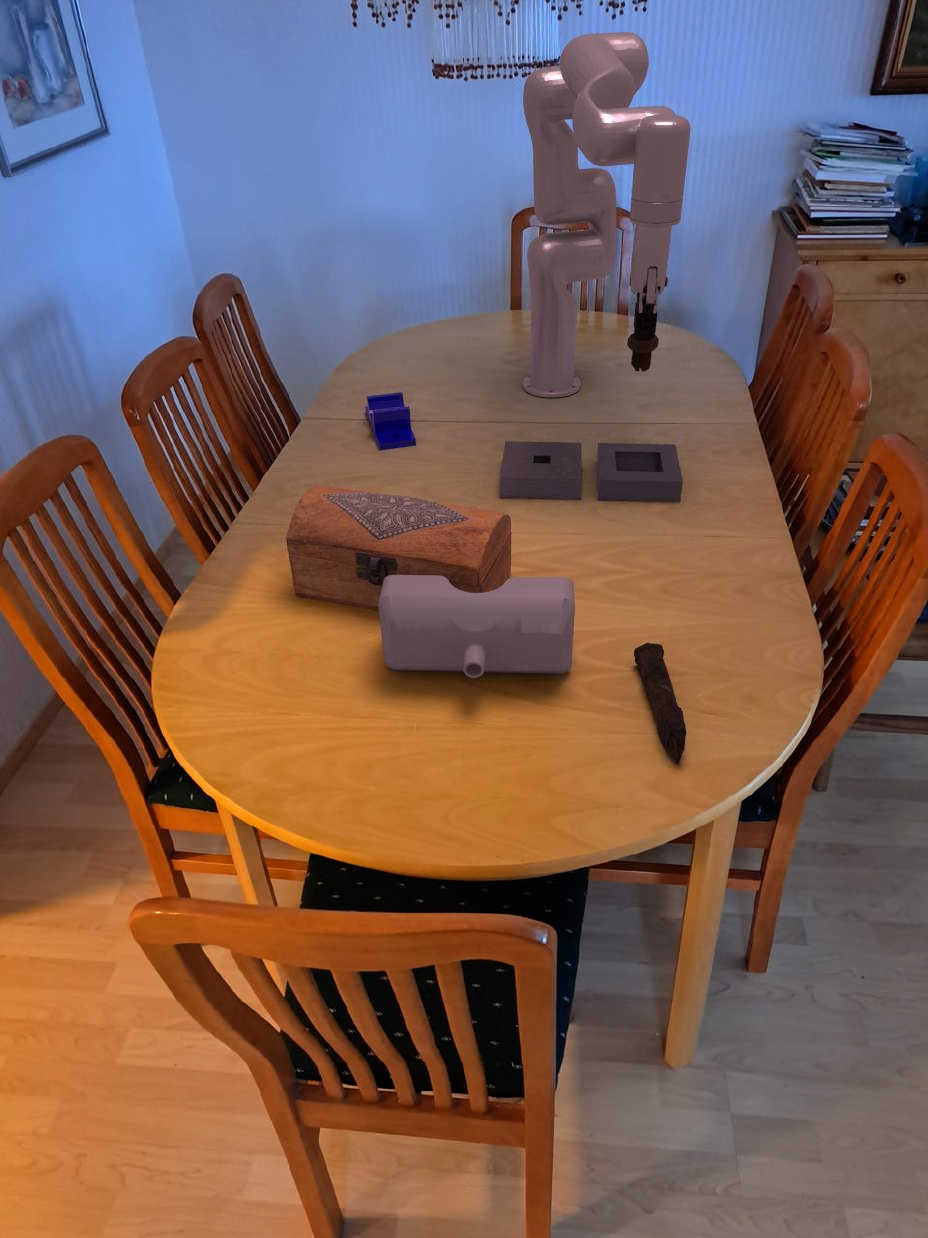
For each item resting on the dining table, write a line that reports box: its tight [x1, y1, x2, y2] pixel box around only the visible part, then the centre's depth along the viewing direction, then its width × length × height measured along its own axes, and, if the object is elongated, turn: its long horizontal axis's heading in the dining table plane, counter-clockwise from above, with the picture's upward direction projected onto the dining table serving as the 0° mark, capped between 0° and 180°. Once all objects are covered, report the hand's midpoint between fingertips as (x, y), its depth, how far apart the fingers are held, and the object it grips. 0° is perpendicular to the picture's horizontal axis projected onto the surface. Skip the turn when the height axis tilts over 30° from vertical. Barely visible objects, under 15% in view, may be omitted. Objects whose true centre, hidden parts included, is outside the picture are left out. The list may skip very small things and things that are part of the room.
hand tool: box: [633, 642, 687, 765], centre depth 112 cm, size 19×4×5 cm, turn 179°
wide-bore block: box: [595, 442, 684, 503], centre depth 160 cm, size 14×14×4 cm
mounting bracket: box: [364, 391, 417, 451], centre depth 180 cm, size 18×7×6 cm, turn 14°
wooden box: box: [285, 484, 512, 612], centre depth 133 cm, size 30×16×14 cm, turn 71°
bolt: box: [626, 272, 669, 373], centre depth 144 cm, size 6×5×15 cm
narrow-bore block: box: [499, 440, 583, 501], centre depth 161 cm, size 14×14×4 cm
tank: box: [378, 575, 576, 679], centre depth 118 cm, size 25×16×12 cm, turn 86°
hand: (644, 331), depth 145 cm, fingers closed on bolt, 3 cm apart
